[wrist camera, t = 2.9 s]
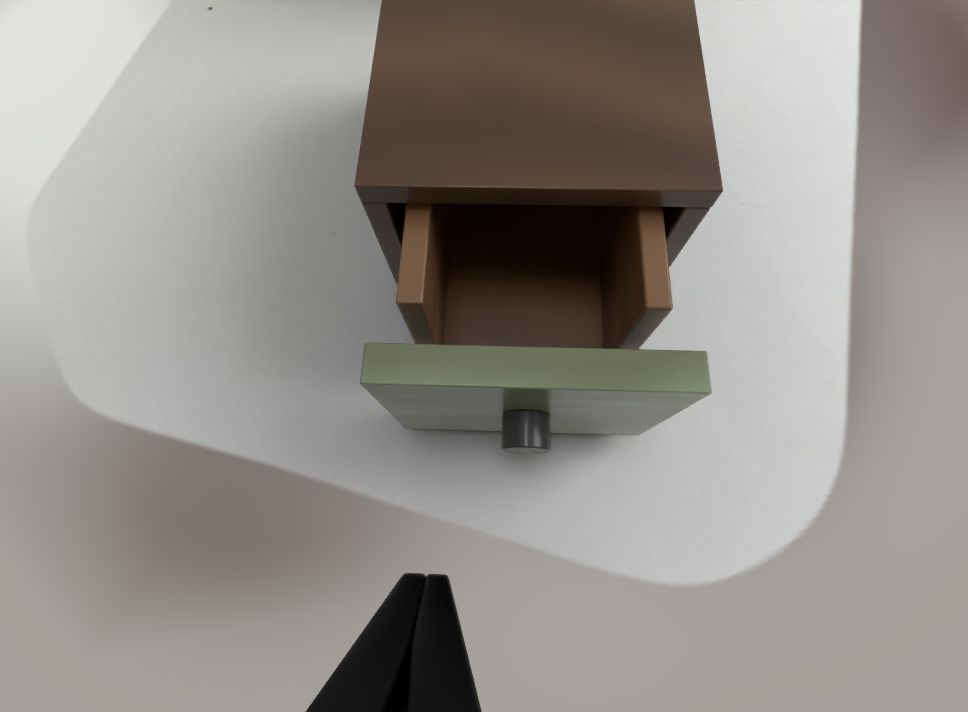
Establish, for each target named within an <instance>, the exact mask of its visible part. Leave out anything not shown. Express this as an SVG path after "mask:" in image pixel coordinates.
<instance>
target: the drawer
mask: <svg viewBox="0 0 968 712" xmlns="http://www.w3.org/2000/svg"><path fill="white" fill-rule="evenodd" d="M396 303H397V305H398V307H399V310H400V312H401V314H402V316H403V318H404V320H405V322H406V325H407V327H408V329H409V331H410V333H411V335H412V337H413V340H414V342H415V344H397V343H365V346H364V354H363V362H362V370H361V378H360V384H361V385H362V386H363V387H364V388H365V389H366V390H367V391H368V392H369V393H370V394H371V395H372V396H373V397H374V398H375V399H376V400H377V401H378V402H379V403H380V404H381V405H383V406H384V407H385V408H386V409H387V410H388V411H389V412H390V413H391V414H392V415H393V416H394V417H395V418H396V419H397V420H398V421H399V422H400V423H401V424H402V425H403V426H404V427H405V428H415V429H447V430H480V431H502V444H501V449H502V450H503V451H505V452H509V453H518V454H541V453H547V452H550V450H551V438H550V433H577V434H609V435H640V434H642V433H643V432H645V431H647V430H649V429H650V428H652V427H654V426H656V425H657V424H659V423H661V422H663V421H664V420H666V419H668V418H669V417H671V416H673V415H675V414H676V413H678V412H680V411H682V410H683V409H685V408H687V407H689V406H690V405H692V404H694V403H696V402H697V401H699V400H701V399H702V398H704V397H706V396H708V395H709V394H711V393H712V390H711V382H710V374H709V365H708V357H707V352H706V351H680V350H640V349H639V348H640V347H641V346H642V344H643V343H644V342H645V341H646V340H647V339H648V337H649V336H650V335H651V334H652V333H653V331H654V330H655V329H656V328H657V327H658V326H659V324H660V323H661V322H662V321H663V320H664V318H665V317H666V316H667V315H668V314H669V313H670V311H671V310H672V308H673V305H672V295H671V285H670V276H669V266H668V256H667V246H666V236H665V226H664V216H663V207H650V206H581V205H512V204H443V203H406V211H405V221H404V231H403V240H402V250H401V259H400V269H399V279H398V288H397V298H396Z"/></svg>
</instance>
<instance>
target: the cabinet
mask: <svg viewBox="0 0 968 712" xmlns="http://www.w3.org/2000/svg"><path fill="white" fill-rule="evenodd" d="M355 188H356V190H357V193H358V195H359V197H360V200H361V202H362V204H363V206H364V209H365V211H366V213H367V216H368V218H369V220H370V223H371V225H372V227H373V230H374V232H375V234H376V237H377V239H378V241H379V244H380V246H381V248H382V251H383V253H384V256H385V258H386V260H387V263H388V265H389V267H390V270H391V272H392V274H393V277H394V279H395V281H396V284H397V286H398V279H399V269H400V259H401V250H402V240H403V231H404V221H405V211H406V203H443V204H512V205H581V206H650V207H663V216H664V226H665V236H666V246H667V256H668V266H669V267H670V266H671V264H672V263H673V261H674V260H675V258H676V257H677V256H678V254H679V253H680V251H681V250H682V248H683V247H684V245H685V244H686V243H687V241H688V240H689V238H690V237H691V235H692V234H693V232H694V231H695V230H696V228H697V227H698V225H699V224H700V222H701V221H702V219H703V218H704V217H705V215H706V214H707V212H708V211H709V209H710V207H712V206H713V204H714V203H715V201H716V200H717V199H718V197H719V196H720V194H721V193H722V191H723V187H722V181H721V174H720V167H719V161H718V154H717V148H716V141H715V135H714V128H713V121H712V115H711V108H710V102H709V95H708V89H707V82H706V75H705V69H704V62H703V56H702V49H701V42H700V36H699V29H698V23H697V16H696V10H695V3H694V0H382V3H381V10H380V17H379V23H378V30H377V37H376V44H375V50H374V57H373V64H372V71H371V77H370V84H369V91H368V98H367V105H366V111H365V118H364V125H363V132H362V138H361V145H360V152H359V159H358V165H357V172H356V179H355Z"/></svg>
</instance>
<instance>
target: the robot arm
mask: <svg viewBox="0 0 968 712" xmlns="http://www.w3.org/2000/svg"><path fill="white" fill-rule="evenodd" d="M306 712H481V707H480V703H479V700H478V695H477V691H476V687H475V683H474V679H473V675H472V671H471V667H470V663H469V658H468V654H467V651H466V647H465V642H464V638H463V635H462V630H461V626H460V622H459V618H458V614H457V610H456V606H455V601H454V597H453V594H452V589H451V585H450V581H449V578H448V576H447V575H444V574H442V575H441V574H429V575H427V576H425V575H424V574H419V573H406V574H404V575H403V576H402V577H401V578H400V579H399V581H398V582H397V584H396V585H395V587H394V588H393V589H392V591H391V592H390V594H389V595H388V596H387V598H386V599H385V601H384V602H383V604H382V605H381V606H380V608H379V609H378V610H377V612H376V613H375V615H374V616H373V618H372V619H371V620H370V622H369V623H368V625H367V626H366V628H365V629H364V630H363V632H362V633H361V634H360V636H359V637H358V639H357V640H356V641H355V643H354V644H353V646H352V647H351V649H350V650H349V651H348V653H347V654H346V656H345V657H344V658H343V660H342V661H341V663H340V664H339V665H338V667H337V668H336V670H335V671H334V673H333V674H332V675H331V677H330V678H329V680H328V681H327V682H326V684H325V685H324V687H323V688H322V689H321V691H320V692H319V694H318V695H317V697H316V698H315V699H314V701H313V702H312V704H311V705H310V706H309V708H308V709H307V711H306Z"/></svg>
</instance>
